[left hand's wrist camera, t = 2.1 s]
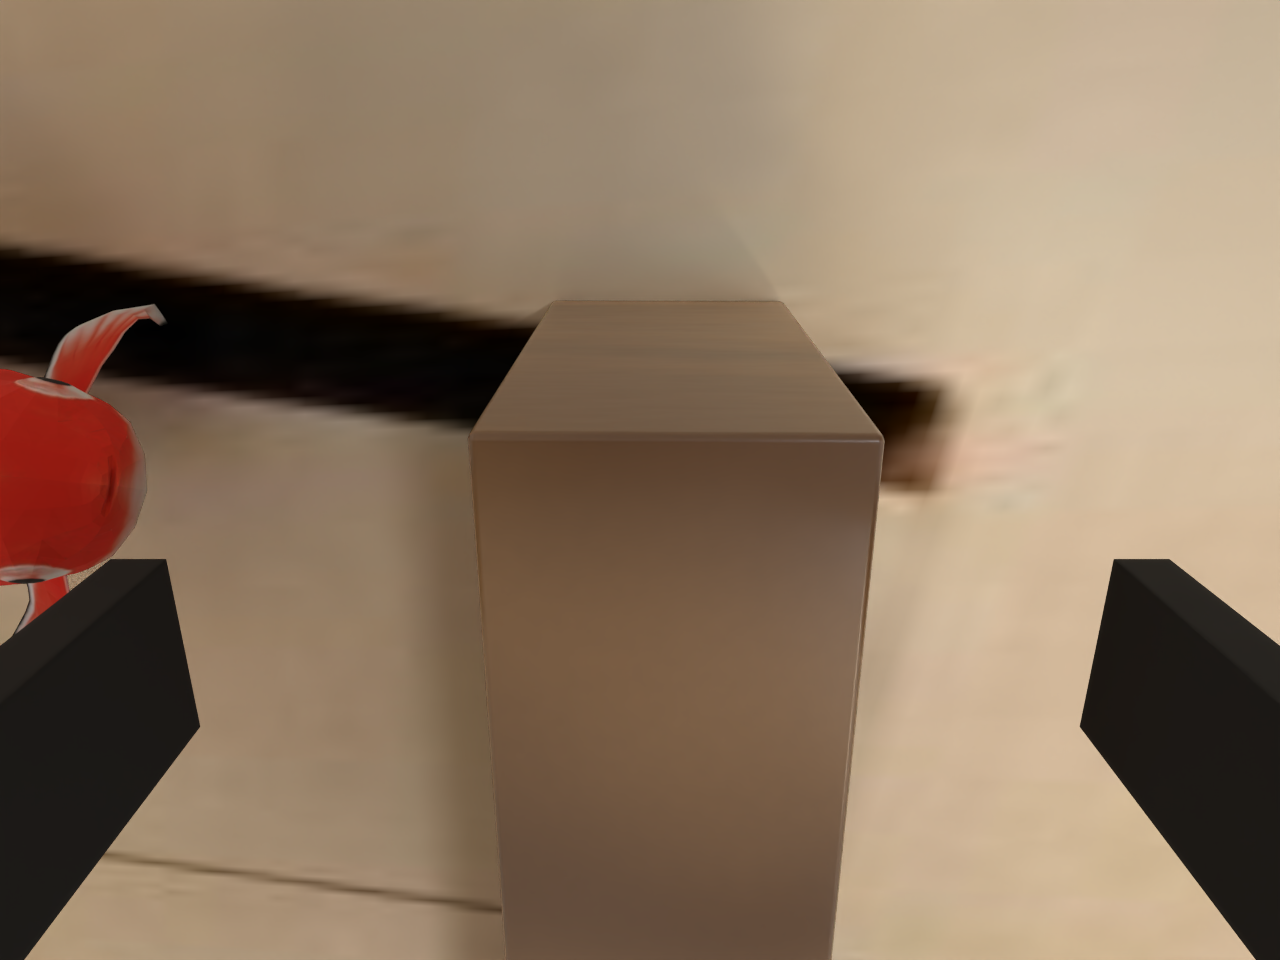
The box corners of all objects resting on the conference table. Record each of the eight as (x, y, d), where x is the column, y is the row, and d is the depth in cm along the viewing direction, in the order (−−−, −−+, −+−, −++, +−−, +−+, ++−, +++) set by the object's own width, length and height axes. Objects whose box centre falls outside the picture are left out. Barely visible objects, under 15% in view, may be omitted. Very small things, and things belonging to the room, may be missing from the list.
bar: (551, 300, 18) (465, 433, 10) (784, 300, 18) (886, 435, 10) (578, 1074, 26) (542, 1496, 18) (739, 1076, 26) (777, 1503, 18)
